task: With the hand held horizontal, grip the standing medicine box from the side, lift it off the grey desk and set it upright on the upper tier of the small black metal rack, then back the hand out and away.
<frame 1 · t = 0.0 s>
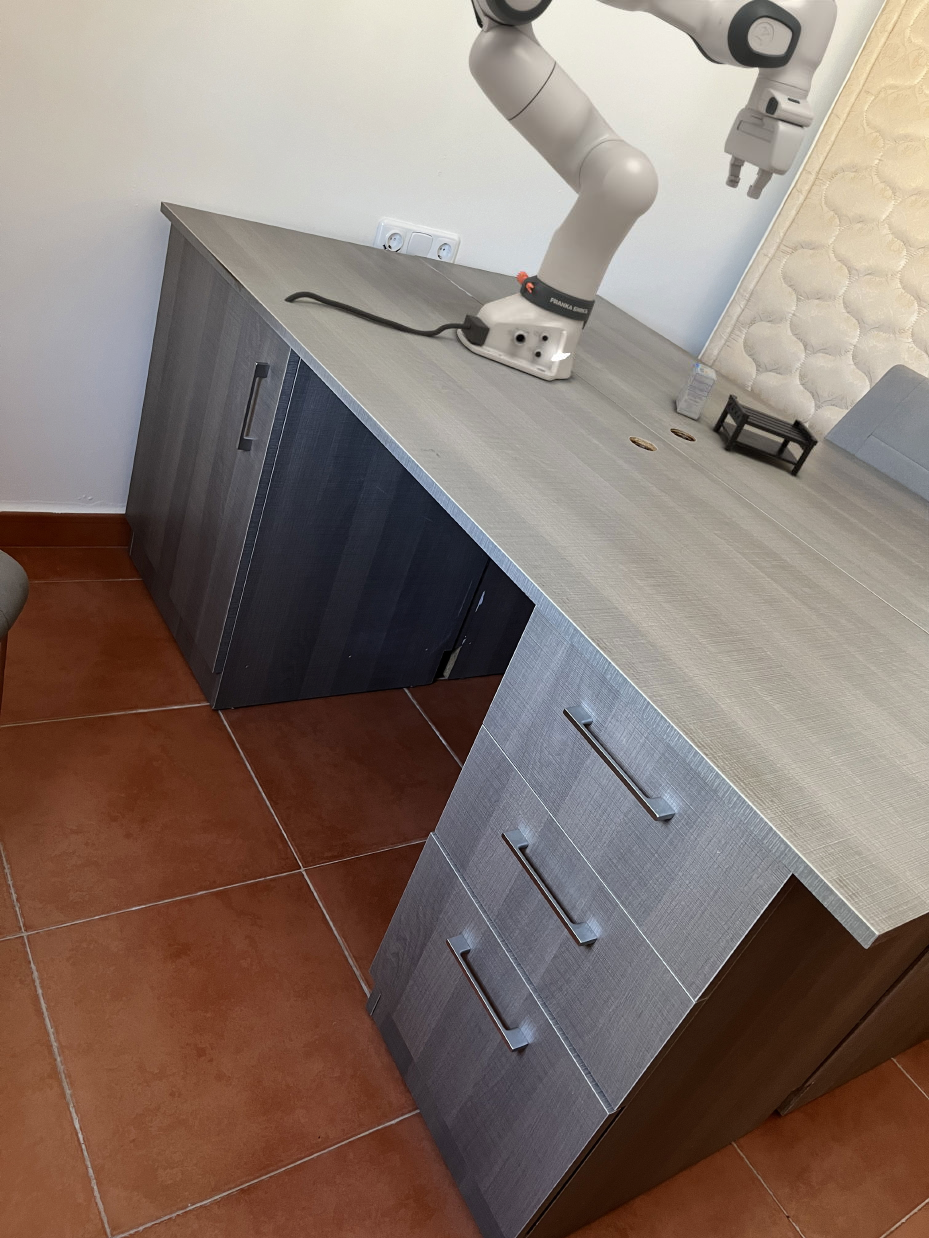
hand: (741, 192, 161), 39 cm above the table, tool pointing down, fingers open, 8 cm apart
medicine box: (684, 412, 184), on the table
rack: (753, 452, 176), on the table
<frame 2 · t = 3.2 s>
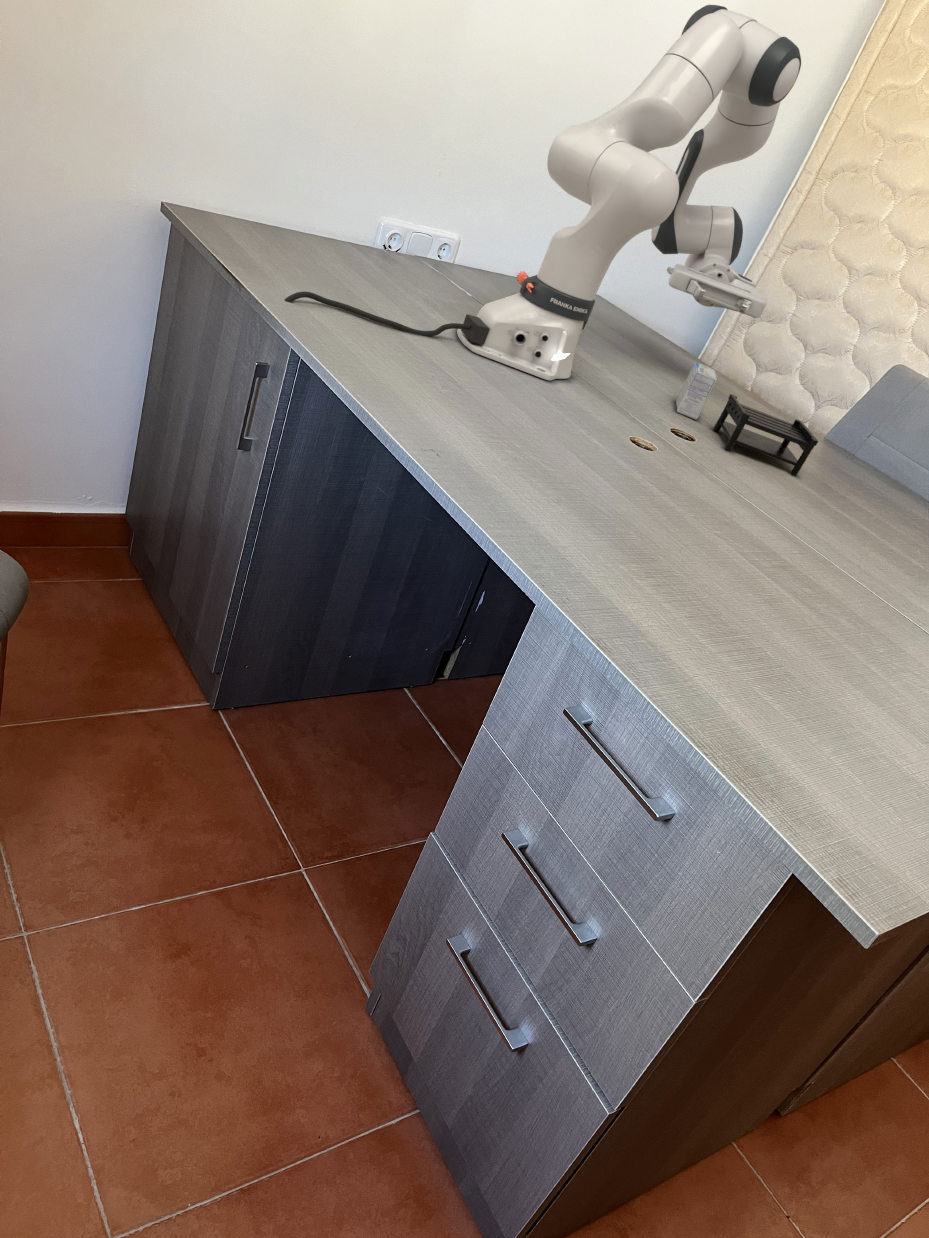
hand: (722, 301, 184), 20 cm above the table, tool horizontal, fingers open, 8 cm apart
nothing on the table moved.
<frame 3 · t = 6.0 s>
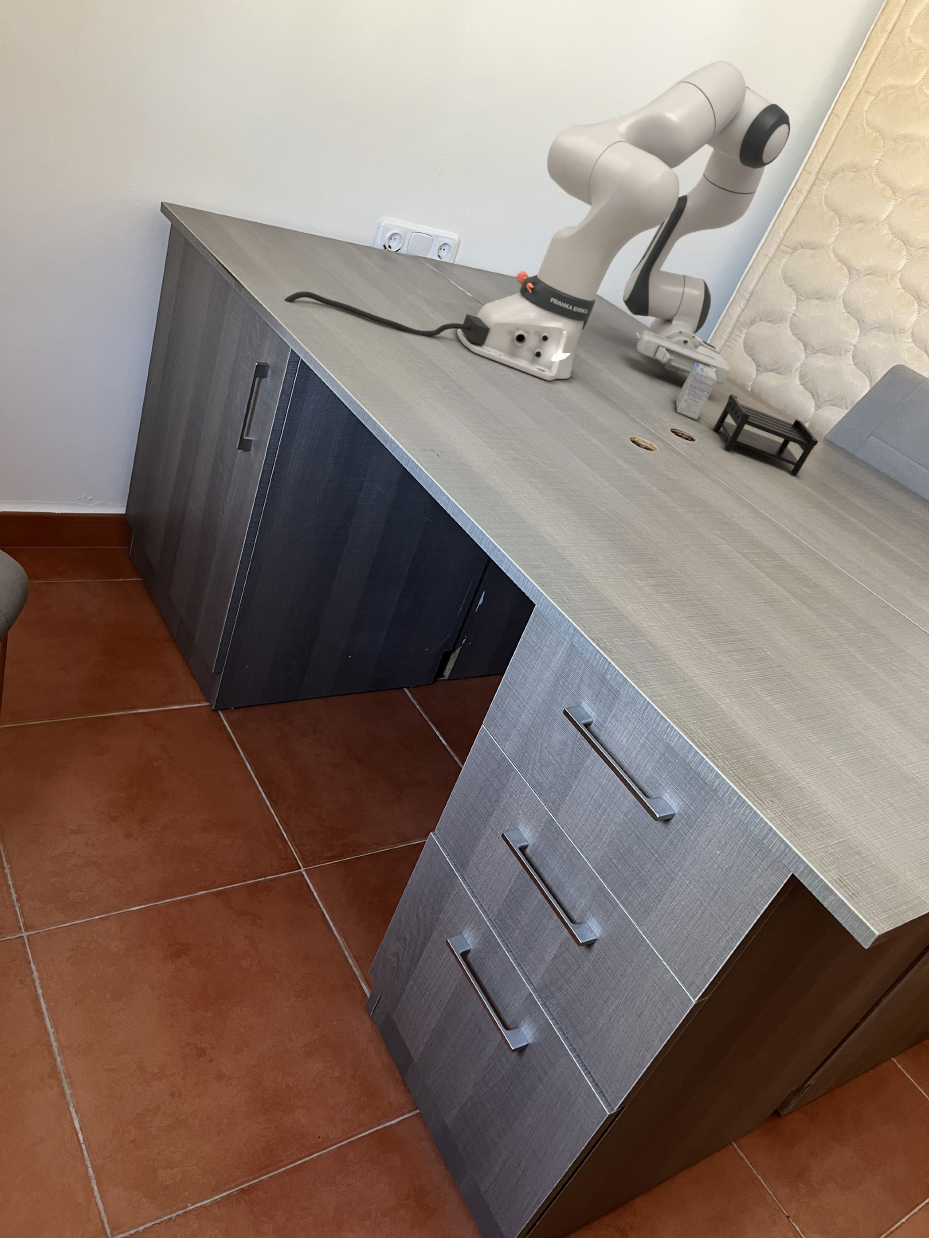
hand: (689, 368, 189), 6 cm above the table, tool horizontal, fingers open, 8 cm apart
nothing on the table moved.
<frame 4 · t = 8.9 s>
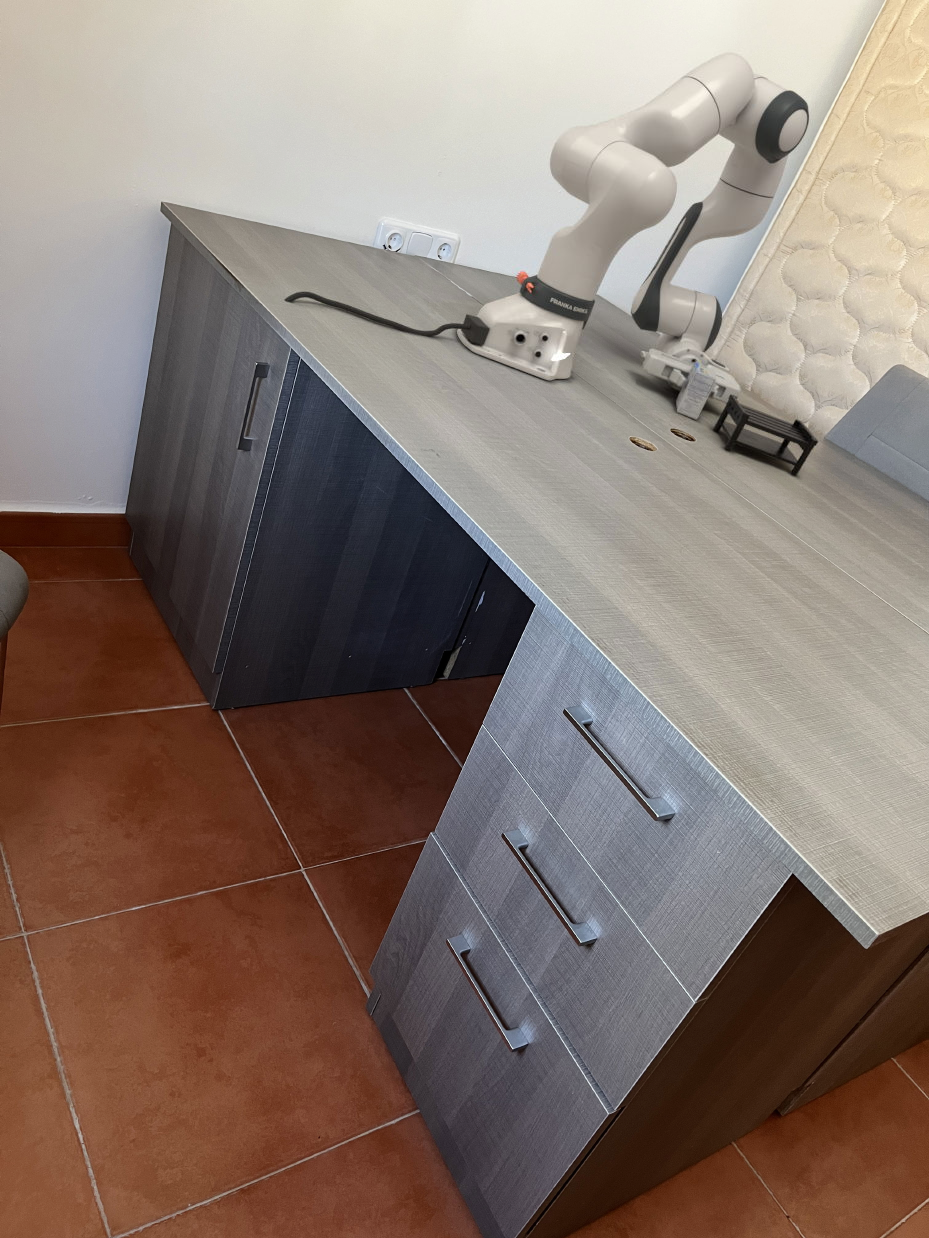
hand: (698, 389, 181), 5 cm above the table, tool horizontal, fingers closed on medicine box, 5 cm apart
medicine box: (684, 411, 184), on the table, touching gripper
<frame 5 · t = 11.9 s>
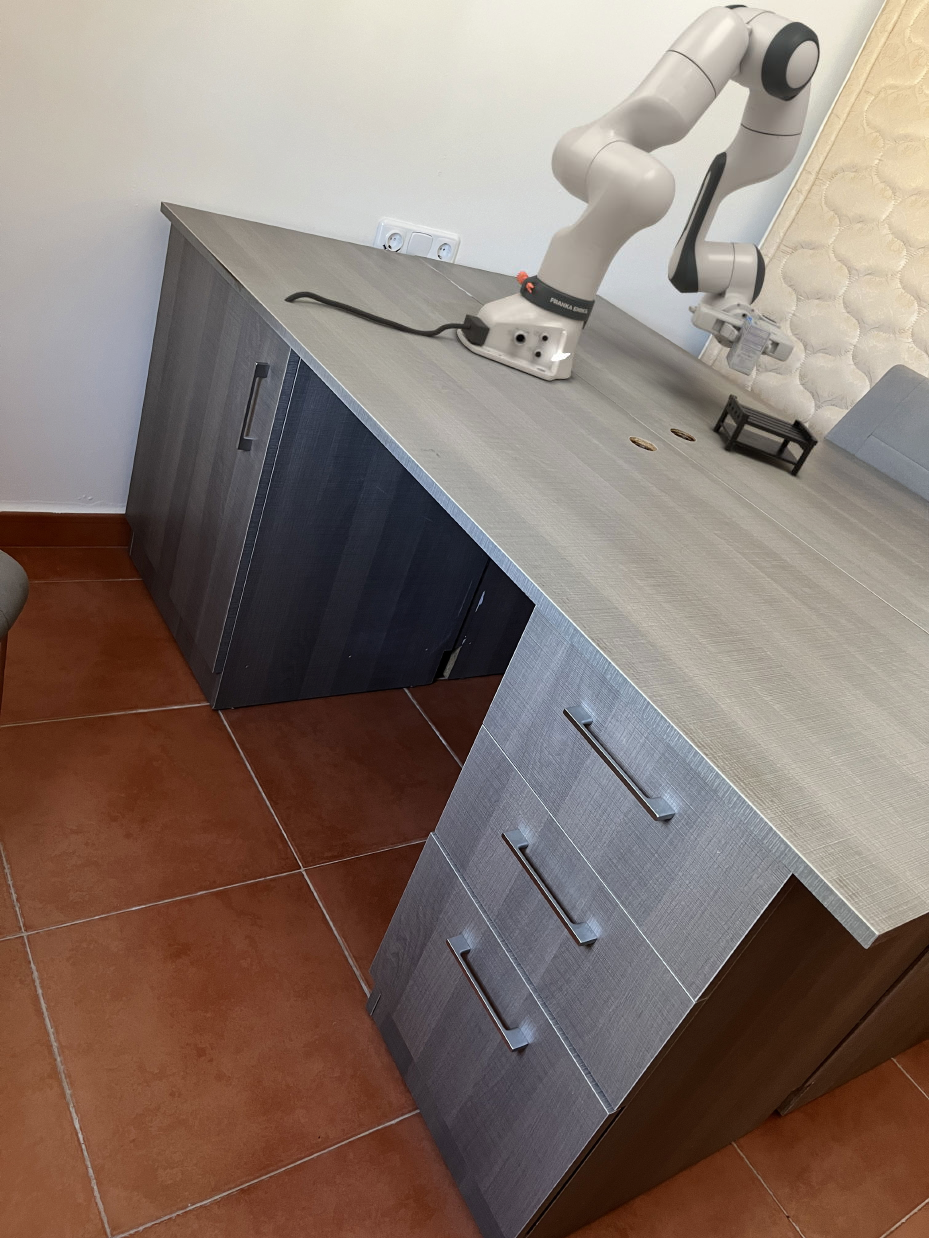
hand: (751, 343, 172), 17 cm above the table, tool horizontal, fingers closed on medicine box, 5 cm apart
medicine box: (736, 368, 176), point 12 cm above the table, touching gripper
when the fingers open (11 cm above the table, at t = 15.3 s): medicine box stays where it is, resting on rack.
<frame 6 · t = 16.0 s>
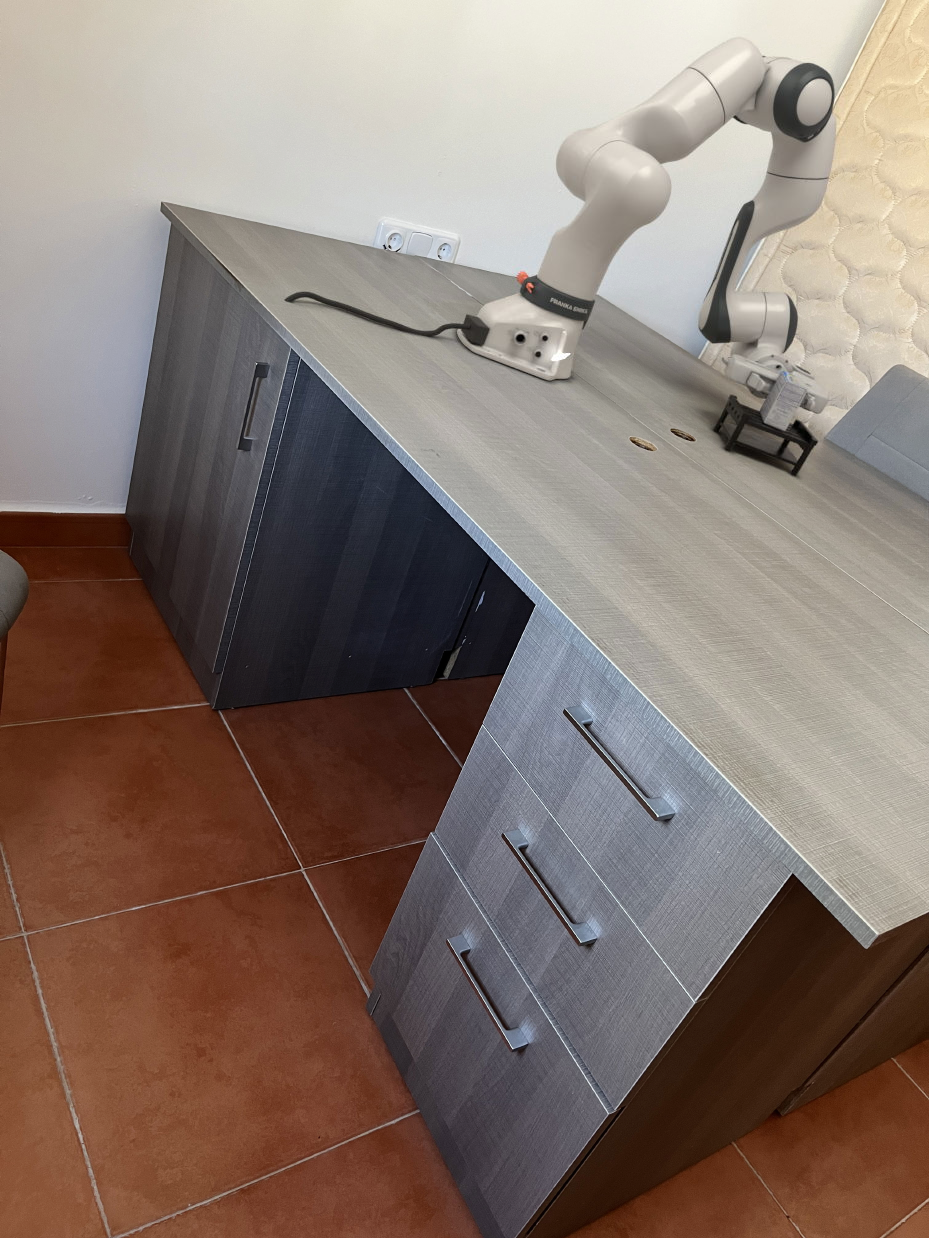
hand: (787, 397, 170), 12 cm above the table, tool horizontal, fingers open, 8 cm apart
medicine box: (770, 423, 173), point 6 cm above the table, touching rack
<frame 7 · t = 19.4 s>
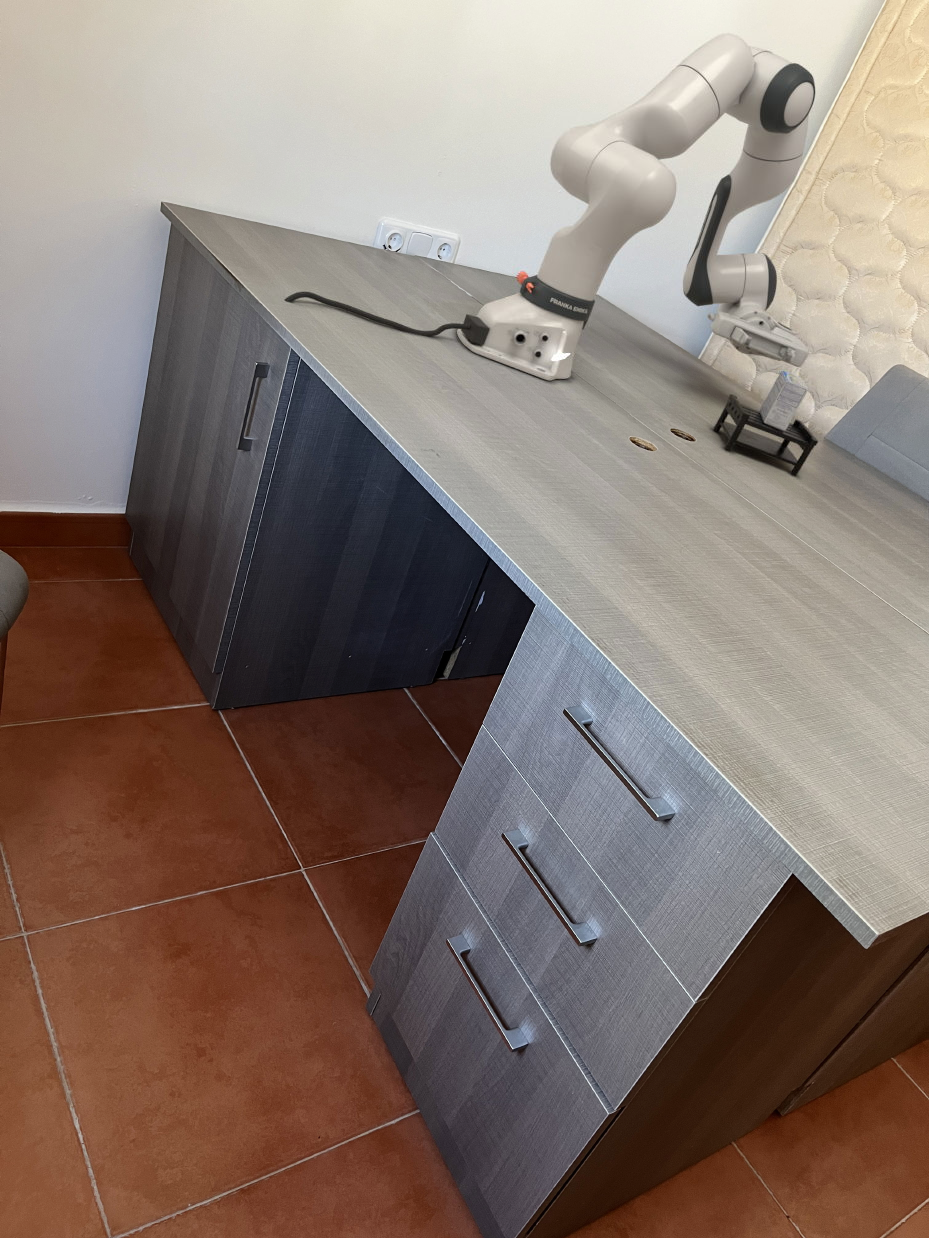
hand: (768, 349, 181), 16 cm above the table, tool horizontal, fingers open, 8 cm apart
nothing on the table moved.
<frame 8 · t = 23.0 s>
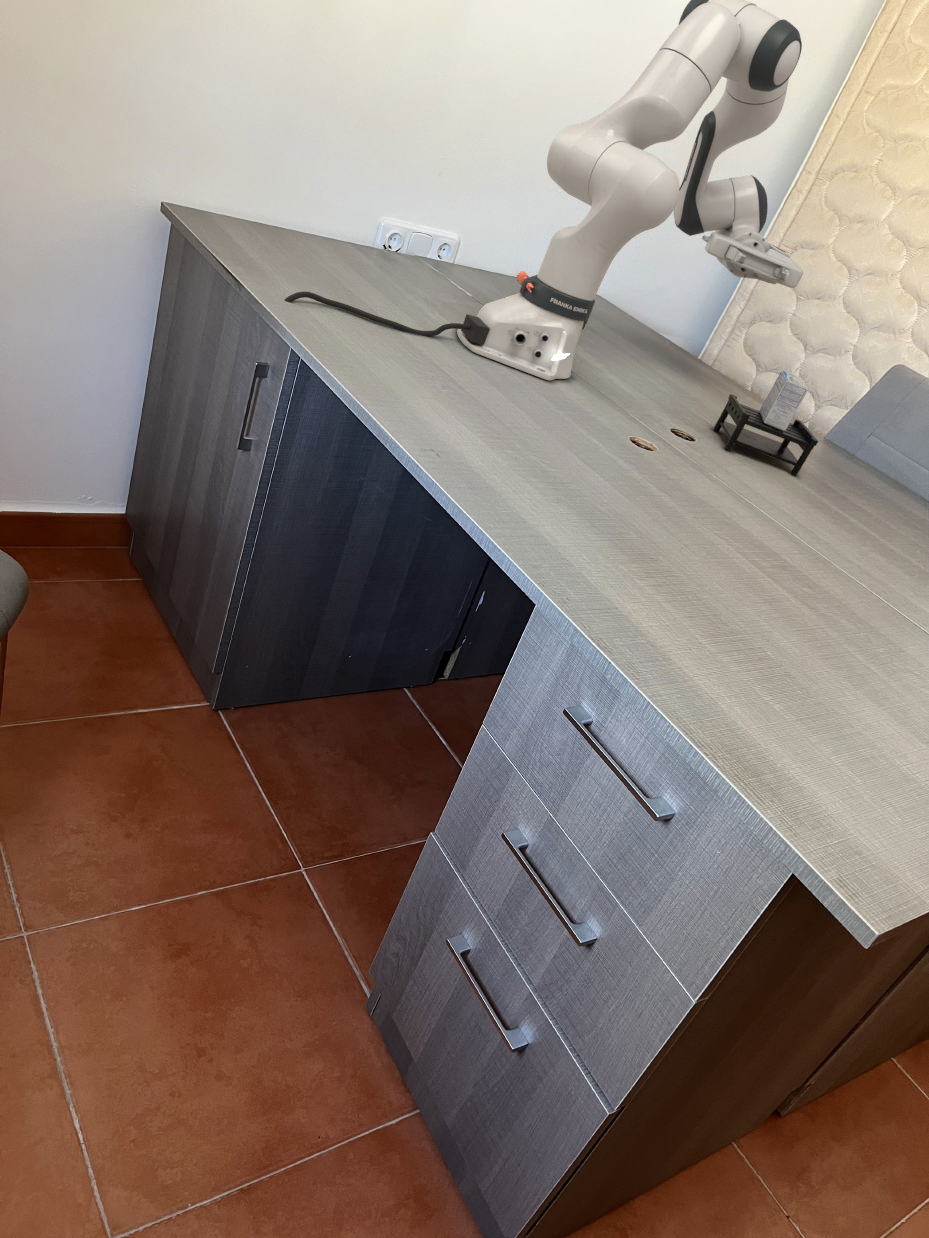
hand: (762, 268, 181), 28 cm above the table, tool horizontal, fingers open, 8 cm apart
nothing on the table moved.
at the end: medicine box inside the target area on the rack (0.1 cm from its centre), point 6.2 cm above the rack's base; medicine box tilted 0°; the gripper is holding nothing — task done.
